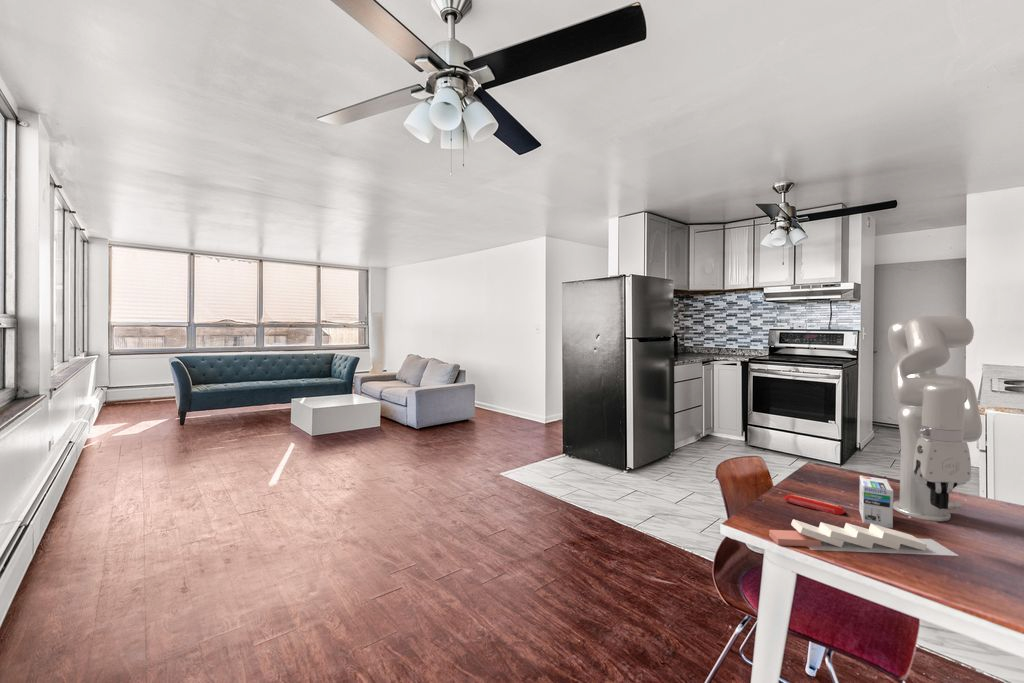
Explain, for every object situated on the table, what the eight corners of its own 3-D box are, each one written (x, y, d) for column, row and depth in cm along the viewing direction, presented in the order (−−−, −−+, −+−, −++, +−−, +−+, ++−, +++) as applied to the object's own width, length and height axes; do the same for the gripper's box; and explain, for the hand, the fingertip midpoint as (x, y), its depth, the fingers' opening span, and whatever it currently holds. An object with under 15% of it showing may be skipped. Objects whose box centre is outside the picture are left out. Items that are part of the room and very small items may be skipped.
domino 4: (886, 534, 117) (845, 522, 118) (900, 543, 112) (858, 531, 113) (884, 540, 117) (843, 528, 118) (898, 549, 113) (856, 537, 113)
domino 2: (832, 532, 119) (793, 518, 120) (843, 541, 114) (802, 527, 115) (830, 538, 119) (790, 524, 120) (841, 547, 114) (800, 533, 115)
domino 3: (860, 533, 118) (820, 522, 119) (873, 542, 113) (831, 530, 114) (858, 539, 118) (818, 527, 119) (871, 548, 113) (829, 536, 114)
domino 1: (810, 531, 119) (769, 529, 121) (820, 540, 114) (778, 538, 116) (809, 537, 119) (769, 535, 121) (820, 546, 115) (777, 545, 116)
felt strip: (931, 540, 118) (931, 538, 118) (959, 557, 109) (959, 555, 109) (793, 535, 122) (793, 533, 122) (810, 551, 113) (810, 549, 113)
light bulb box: (893, 530, 124) (894, 490, 123) (862, 524, 127) (863, 486, 127) (887, 515, 133) (888, 478, 132) (858, 510, 137) (858, 474, 136)
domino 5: (911, 535, 117) (870, 523, 118) (927, 544, 112) (884, 532, 113) (909, 541, 117) (868, 529, 118) (924, 550, 112) (882, 538, 113)
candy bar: (847, 515, 134) (847, 505, 134) (844, 519, 131) (844, 508, 131) (786, 499, 146) (786, 490, 146) (782, 503, 143) (782, 493, 143)
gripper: (920, 438, 110) (917, 513, 111) (989, 438, 108) (986, 514, 110) (897, 430, 117) (895, 500, 119) (962, 429, 116) (959, 501, 117)
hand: (939, 506), depth 114 cm, fingers closed
